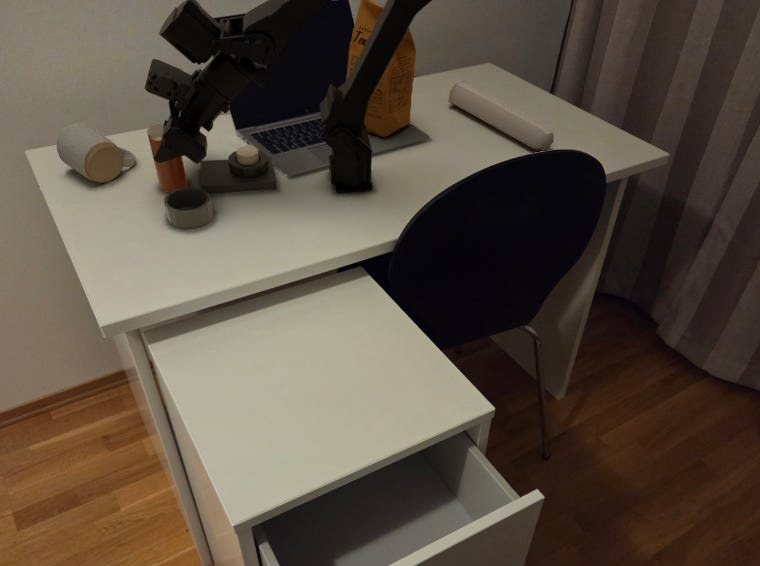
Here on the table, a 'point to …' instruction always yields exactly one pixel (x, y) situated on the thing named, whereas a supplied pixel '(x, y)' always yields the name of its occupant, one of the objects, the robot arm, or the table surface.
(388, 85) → the coffee package
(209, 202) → the capsule holder
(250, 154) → the release button
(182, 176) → the orange metal cylinder
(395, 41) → the robot arm
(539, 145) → the tube
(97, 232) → the table surface
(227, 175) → the plate with ring holder
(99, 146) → the ceramic mug
